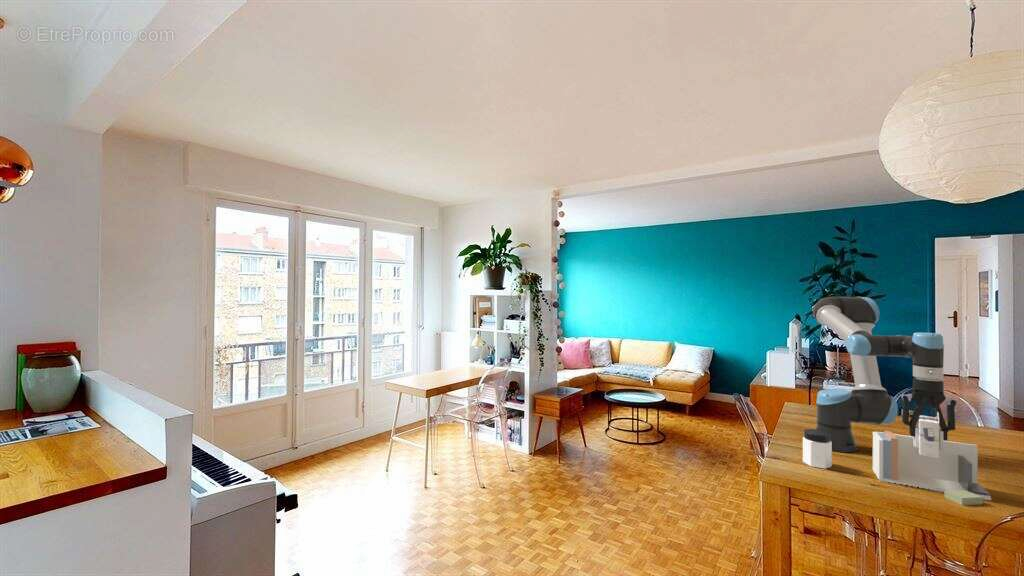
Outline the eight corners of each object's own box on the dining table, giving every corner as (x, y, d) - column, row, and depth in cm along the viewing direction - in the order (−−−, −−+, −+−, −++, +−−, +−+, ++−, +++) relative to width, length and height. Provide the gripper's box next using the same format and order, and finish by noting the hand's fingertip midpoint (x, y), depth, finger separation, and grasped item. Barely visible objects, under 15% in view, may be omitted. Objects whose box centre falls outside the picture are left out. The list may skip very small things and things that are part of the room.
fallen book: (961, 506, 133) (961, 497, 133) (944, 498, 138) (944, 490, 138) (982, 505, 133) (982, 497, 133) (964, 497, 138) (964, 489, 138)
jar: (803, 465, 162) (803, 433, 162) (801, 458, 169) (801, 427, 169) (833, 470, 158) (833, 437, 158) (830, 462, 165) (830, 431, 165)
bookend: (967, 491, 139) (967, 463, 139) (958, 481, 146) (958, 455, 146) (989, 495, 136) (989, 466, 136) (979, 485, 143) (979, 458, 143)
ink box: (916, 448, 151) (916, 405, 151) (936, 451, 148) (936, 408, 148) (919, 455, 145) (919, 410, 145) (940, 459, 142) (940, 413, 142)
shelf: (879, 480, 149) (879, 437, 149) (872, 469, 159) (872, 428, 159) (991, 500, 136) (991, 452, 136) (976, 486, 145) (976, 441, 145)
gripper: (894, 377, 148) (895, 446, 148) (970, 383, 139) (970, 457, 139) (889, 374, 155) (889, 439, 154) (961, 379, 145) (961, 449, 145)
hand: (928, 447), depth 146 cm, fingers closed on ink box, 5 cm apart
